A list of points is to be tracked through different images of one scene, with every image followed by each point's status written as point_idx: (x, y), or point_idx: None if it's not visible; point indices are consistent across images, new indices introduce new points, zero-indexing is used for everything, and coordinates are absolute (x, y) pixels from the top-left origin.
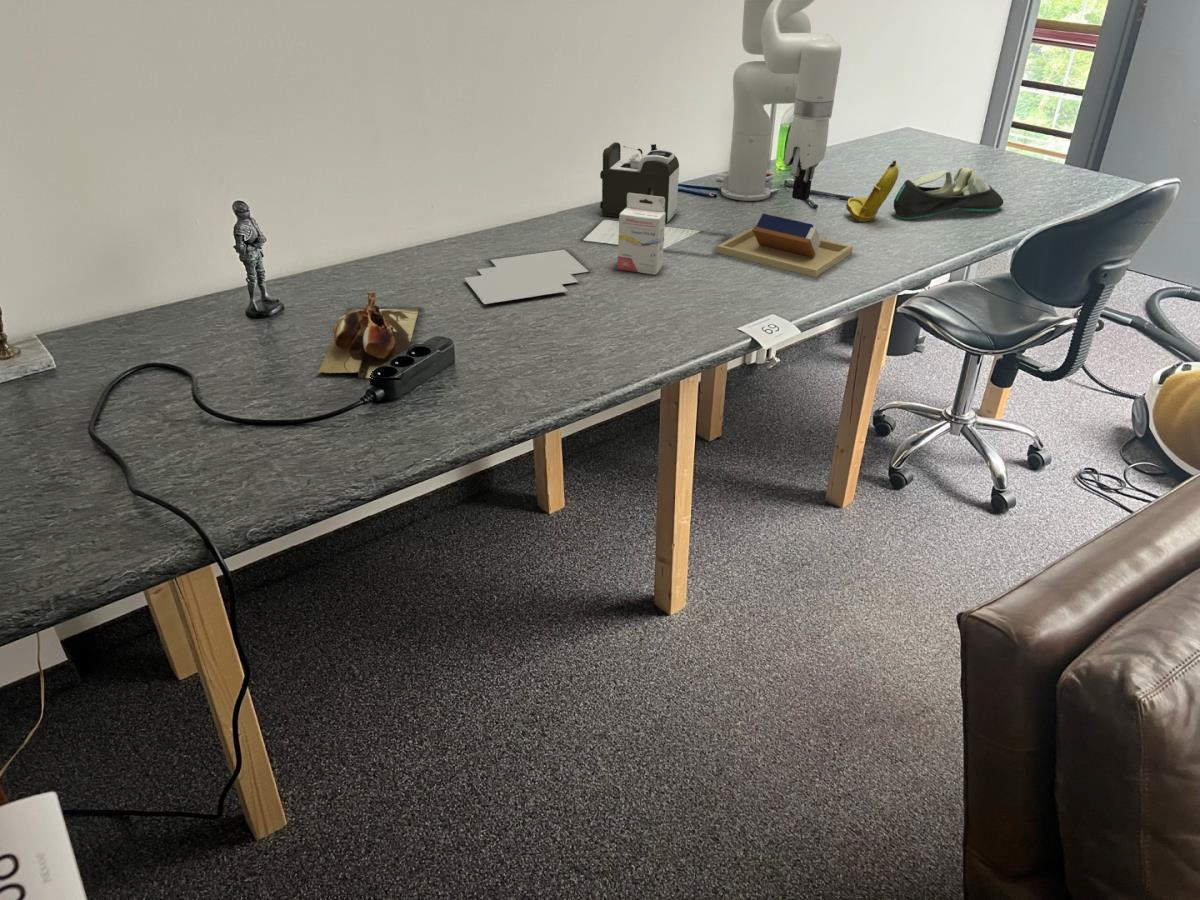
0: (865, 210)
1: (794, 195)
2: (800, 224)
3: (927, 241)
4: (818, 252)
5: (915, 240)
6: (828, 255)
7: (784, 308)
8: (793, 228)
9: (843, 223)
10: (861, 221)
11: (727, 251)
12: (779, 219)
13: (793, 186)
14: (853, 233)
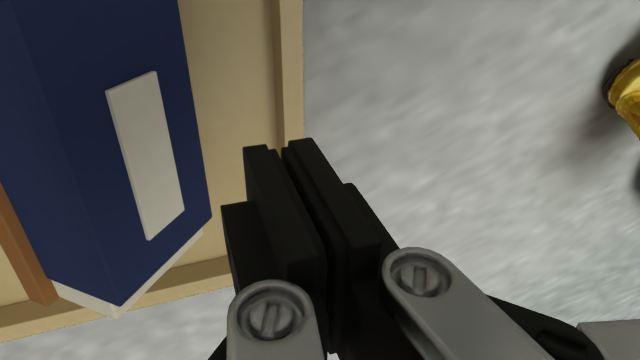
0: (634, 124)
1: (249, 174)
2: (86, 250)
3: (503, 280)
4: (218, 186)
5: (500, 263)
6: (217, 225)
7: None
8: (46, 217)
9: (582, 55)
10: (606, 96)
11: None
12: (33, 108)
13: (265, 204)
14: (495, 135)
